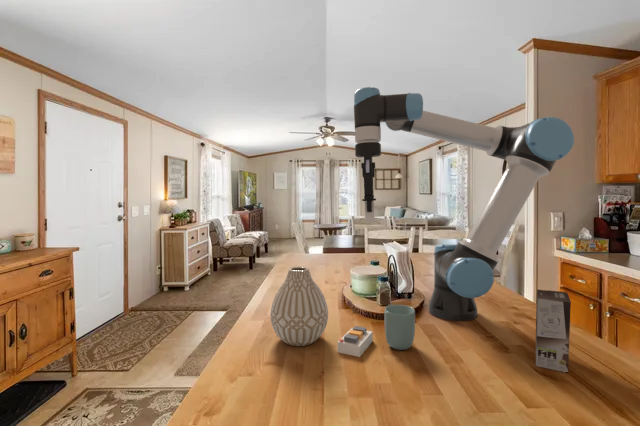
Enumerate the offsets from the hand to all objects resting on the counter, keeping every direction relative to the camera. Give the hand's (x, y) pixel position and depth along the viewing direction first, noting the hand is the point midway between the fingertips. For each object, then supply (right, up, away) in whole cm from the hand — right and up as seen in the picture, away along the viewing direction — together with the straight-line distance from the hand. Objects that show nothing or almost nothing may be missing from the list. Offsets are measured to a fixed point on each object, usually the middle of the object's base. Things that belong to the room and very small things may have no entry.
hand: (369, 222), depth 104 cm
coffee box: (+40, -33, -21) cm, 56 cm away
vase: (-20, -33, -7) cm, 39 cm away
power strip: (-5, -33, -12) cm, 35 cm away
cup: (+6, -32, -12) cm, 35 cm away
